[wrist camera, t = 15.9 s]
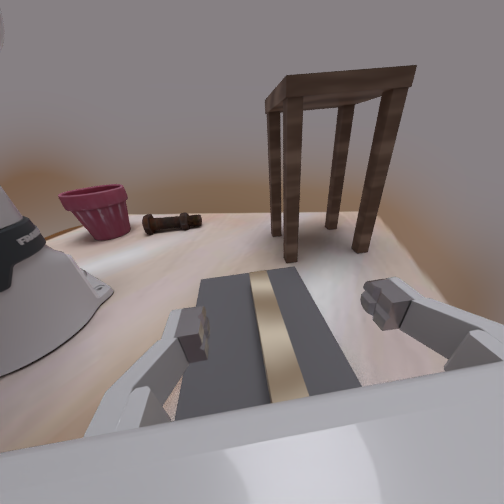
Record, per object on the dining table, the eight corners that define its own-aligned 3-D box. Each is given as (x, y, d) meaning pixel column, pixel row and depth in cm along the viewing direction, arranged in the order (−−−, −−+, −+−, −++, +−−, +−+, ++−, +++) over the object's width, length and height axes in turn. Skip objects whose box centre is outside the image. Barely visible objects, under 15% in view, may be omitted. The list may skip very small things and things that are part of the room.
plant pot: (150, 225, 59) (134, 182, 53) (108, 247, 48) (81, 195, 42) (118, 223, 64) (99, 184, 58) (72, 242, 53) (43, 196, 46)
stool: (369, 252, 36) (416, 64, 23) (285, 263, 35) (286, 75, 22) (333, 225, 48) (350, 92, 35) (270, 233, 47) (264, 100, 34)
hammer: (280, 268, 29) (281, 287, 30) (234, 274, 28) (237, 294, 30) (395, 506, 9) (380, 526, 10) (246, 539, 8) (253, 555, 10)
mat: (439, 533, 11) (443, 532, 10) (144, 603, 10) (140, 604, 9) (294, 269, 33) (294, 266, 33) (201, 282, 32) (201, 279, 32)
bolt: (203, 232, 56) (150, 238, 54) (203, 219, 58) (152, 224, 57) (199, 219, 51) (140, 225, 49) (199, 206, 53) (143, 210, 52)
